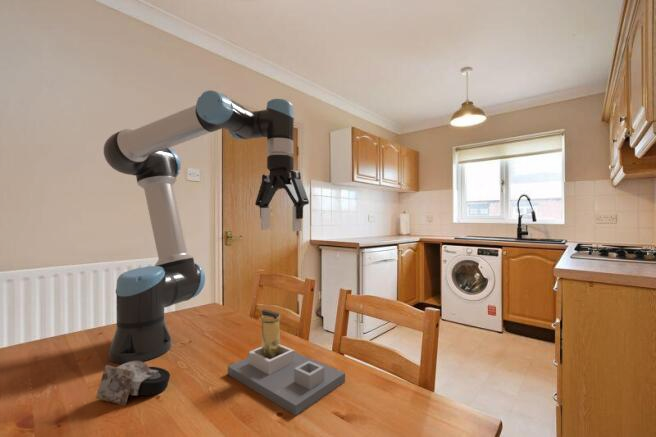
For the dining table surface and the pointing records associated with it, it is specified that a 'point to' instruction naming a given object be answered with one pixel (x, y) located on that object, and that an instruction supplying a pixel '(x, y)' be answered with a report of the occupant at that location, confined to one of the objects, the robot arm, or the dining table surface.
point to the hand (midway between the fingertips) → (280, 230)
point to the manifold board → (287, 378)
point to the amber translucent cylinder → (270, 334)
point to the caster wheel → (131, 381)
